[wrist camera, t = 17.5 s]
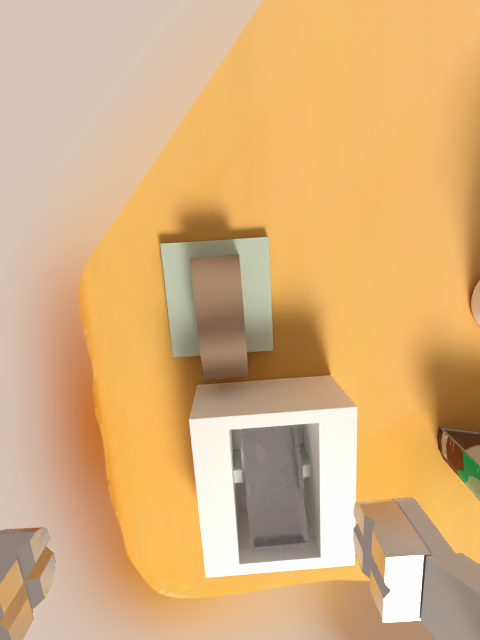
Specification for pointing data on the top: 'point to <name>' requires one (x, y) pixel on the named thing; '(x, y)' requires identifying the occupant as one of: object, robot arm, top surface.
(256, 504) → the cradle
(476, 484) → the food container
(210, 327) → the walnut slab
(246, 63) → the top surface
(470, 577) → the robot arm
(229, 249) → the sage pad
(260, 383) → the pocket jig
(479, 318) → the pill bottle
